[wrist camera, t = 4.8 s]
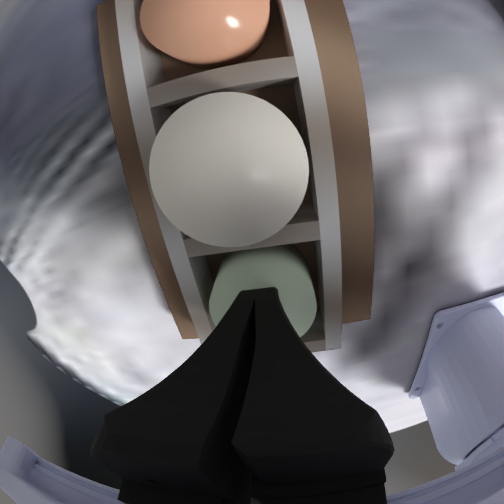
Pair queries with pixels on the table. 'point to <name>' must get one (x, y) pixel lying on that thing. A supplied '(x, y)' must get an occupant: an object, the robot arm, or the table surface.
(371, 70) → the table surface
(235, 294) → the button sage
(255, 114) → the button ivory
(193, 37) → the button terracotta
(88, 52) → the table surface
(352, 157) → the button board
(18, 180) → the table surface
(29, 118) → the table surface
